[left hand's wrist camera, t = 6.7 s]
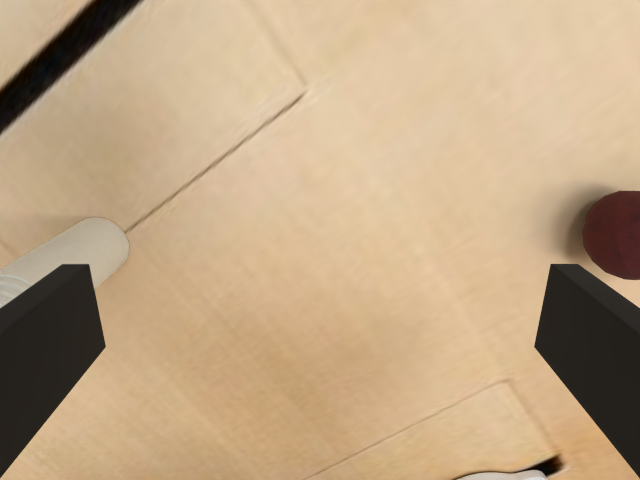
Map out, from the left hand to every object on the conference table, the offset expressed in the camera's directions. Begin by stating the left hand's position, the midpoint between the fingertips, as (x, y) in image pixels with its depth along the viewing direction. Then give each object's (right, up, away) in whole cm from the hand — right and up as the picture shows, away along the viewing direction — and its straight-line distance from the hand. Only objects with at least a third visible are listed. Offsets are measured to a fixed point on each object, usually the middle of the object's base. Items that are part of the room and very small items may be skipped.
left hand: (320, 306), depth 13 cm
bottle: (-21, +1, +29) cm, 36 cm away
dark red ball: (+27, +4, +28) cm, 39 cm away
